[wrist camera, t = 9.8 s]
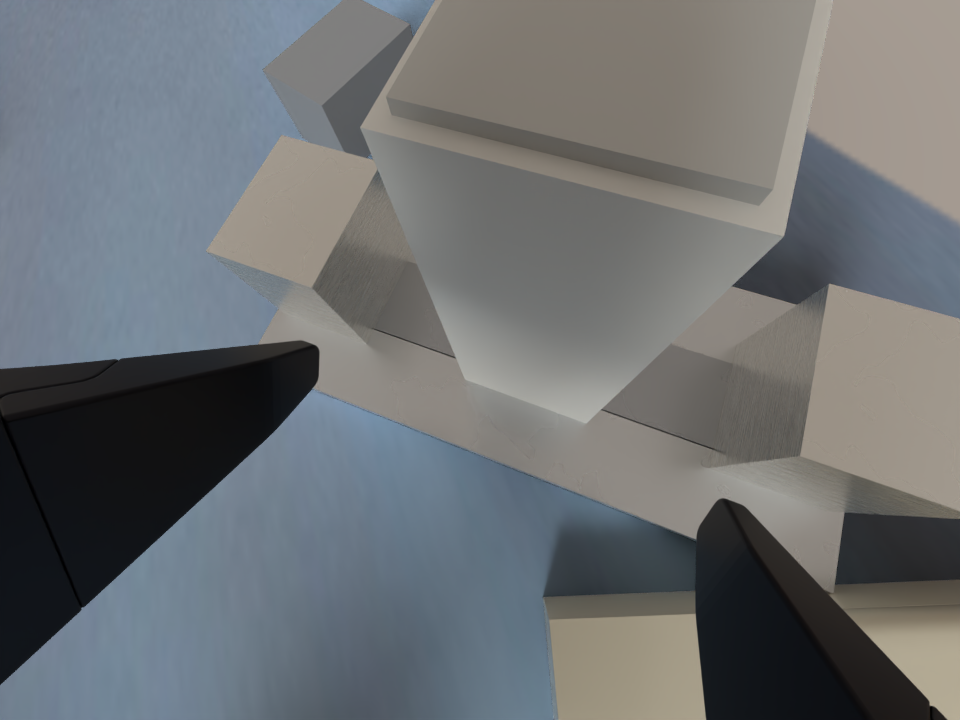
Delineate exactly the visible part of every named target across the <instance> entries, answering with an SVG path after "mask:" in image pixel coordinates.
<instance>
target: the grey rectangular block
mask: <svg viewBox="0 0 960 720" xmlns="http://www.w3.org/2000/svg"><path fill="white" fill-rule="evenodd" d="M412 39H413V36H412V31H411V27H410V24H409V23H407V22H404V21H402V20H400V19H398V18H396V17H394V16H392V15H390V14H388V13H386V12H384V11H382V10H380V9H378V8H376V7H374V6H372V5H370V4H368V3H366V2H364V1H362V0H343V1H342V2H340V3H339V4H338V5H337V6H336V7H335V8H334V9H332V10H331V11H330V12H329V13H328V14H327V15H325V16H324V17H323V18H322V19H321V20H320V21H318V22H317V23H316V24H315V25H314V26H313V27H311V28H310V29H309V30H308V31H307V32H306V33H305V34H303V35H302V36H301V37H300V38H299V39H298V40H296V41H295V42H294V43H293V44H292V45H291V46H289V47H288V48H287V49H286V50H285V51H284V52H282V53H281V54H280V55H279V56H278V57H277V58H276V59H274V60H273V61H272V62H271V63H270V64H269V65H267V66H266V67H265V68H264V69H263V72H264V73H265V75H266V77H267V78H268V80H269V82H270V83H271V85H272V87H273V89H274V90H275V92H276V94H277V95H278V97H279V99H280V100H281V102H282V104H283V105H284V107H285V109H286V111H287V112H288V114H289V116H290V117H291V119H292V121H293V122H294V124H295V126H296V127H297V129H298V131H299V133H300V134H301V136H302V138H304V139H305V140H307V141H308V142H310V143H313V144H316V145H320V146H324V147H327V148H331V149H335V150H338V151H342V152H346V153H349V154H353V155H357V156H360V157H364V158H367V157H368V156H369V155H370V154H371V152H370V150H369V148H368V145H367V143H366V140H365V138H364V136H363V133H362V131H361V128H360V127H361V125H362V124H363V122H364V120H365V118H366V117H367V115H368V113H369V112H370V110H371V108H372V107H373V105H374V103H375V102H376V100H377V98H378V96H379V95H380V93H381V91H382V90H383V88H384V86H385V85H386V83H387V81H388V80H389V78H390V76H391V74H392V73H393V71H394V69H395V68H396V66H397V64H398V63H399V61H400V59H401V58H402V56H403V54H404V52H405V51H406V49H407V47H408V46H409V44H410V42H411V41H412Z"/></svg>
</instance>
